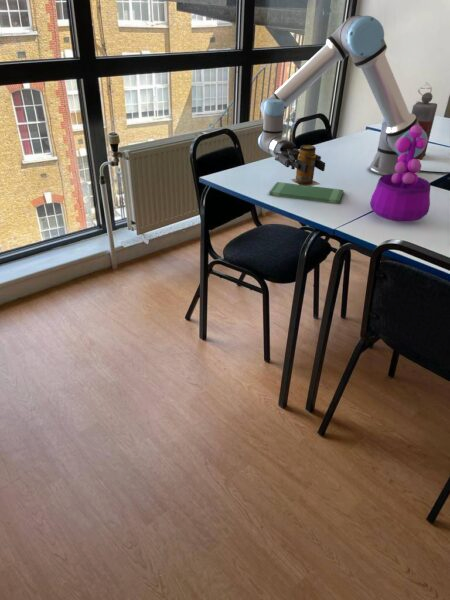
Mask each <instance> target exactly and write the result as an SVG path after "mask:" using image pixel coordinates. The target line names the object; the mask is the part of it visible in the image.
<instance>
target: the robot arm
mask: <svg viewBox="0 0 450 600" xmlns="http://www.w3.org/2000/svg"><path fill="white" fill-rule="evenodd" d="M325 41H326V42H325V44H324V45H323V46H322V47H321V48H320V49H319V50H318V51H317V52H316V53H315V54H314V55H312V56H311V58H309V60H307V61H306V62H305V63H304V64H303V65H302V66H301V67H299V69H298V70H297V71H296V72H294V74H293V75H291V76H290V78H288V79H287V80H286V81H285V82H284V83H283V84H282V85H281V86H280V87H279V88H278V89H277V90H275V92H274V93H272V94H271V95H270V96H269V97H267V98H265V99H263V100H262V101H261V103H260V108H259V109H260V114H261V116H262V118H263V127H262V128H263V130H262V132H261V133H260V135H259V136H258V139H257V140H258V141H257V143H258V146H259V148H260V149H261V150H262V151H263V152H264V153H267V154H269V155H271V156H272V157H274V161H276V162H279V163H280V164H282V165H283V166H284V167H286V168H291V170H297V169H299V170H300V171H302V172H304V173H307V167H308V165H307V164H305V163H303V162H302V161H300V160H298V155H299V153H300V152H299V151H300V149H298V148H297V146H296V144H295V143H294V142H292V141H291V140H289V139H287V138H284V137H283V131H284V118H285V112H286V109H287V108H288V107H289V106H290V105H291V104H293V103H294V102H295V101H296V100H297V99H298V98H299V97H300V96H301V95H302V94H304V93H305V92H306V91H307V90H308V89H309V88H310V87H311V86H312V85H313V84H314V83H316V82H317V81H318V80H319V79H320V78H321V77H322V76H323V75H325V73H327V72H328V71H329V70H330V69H331V68H332V67H333V66H334V65H335V64H337V62H341V61H344V60H345V59H346V58H348V56H350V58H351V60H352V62H353V64H354V66H355V68H359V69H361V70H362V73H363V75H364V77H365V79H366V81H367V83H368V87H369V88H370V90H371V93H372V95H373V97H374V99H375V102H376V103H377V106H378V108H379V110H380V113H381V115H382V117H383V120H382V123H381V129H380V135H379V140H378V145H377V150H376V153H375V155H374V157H373V158H372V160H371V163H370V165H369V171H370V172H371V173H373V174H375V175H378V176H384V175H388V174H396V173H397V172H396V171H395V166H396V164H397V163H398V157H399V155H400V154H402V153H401V152H399V151H398V150H397V149H396V142H397V140H398V139H399V138H402V137H408V138H410V140H411V143H412V141H413V138H412V137H411V136H410V134H409V130H410V129H411V128H412V127H413V126H414V125H419V123H418V121H417V118H416V116H415V115H414V114H411V113H412V112H411V113H410V111H409V109H408V107H407V104H406V101H405V99H404V97H403V94H402V91H401V89H400V88H399V84H398V83H397V80H396V78H395V75H394V73H393V70H392V68H391V66H390V63H389V60H388V58H387V57H386V52H387V49H388V45H387V43H386V41H385V30H384V26H383V25H382V23H381V22H380V20H378V19H377V18H375V17H374V16H372V15H360V14H359V15H353V16H350V17H349V18H347V19H346V20H344V21H343V22H342V24H340V25H339V27H337V29H336V30H334V32H333V33H331V34H330V36H329V37H328V38H327V39H326V40H325ZM419 126H420V125H419ZM422 131H423V133H422V135H421V136H420V137H421V138H425V139H426V141H428V138H427V134H426V132H425V131H424V130H422ZM420 137H418V138H420ZM418 138H416V140H417V139H418ZM428 142H429V141H428ZM426 145H427V144H426ZM427 146H428V145H427ZM425 147H426V146H425ZM425 147H424V148H423V149H417V148H416V146H415V154H414V157H416V156H418V155H419V154H421V153H422V152H423V150H424V149H425ZM404 153H407V154H408V151H407V152H404ZM315 156H316V159H315V169H318V170H319V171H321V172H325V169H326V162H324V161H323V160H322V156H321V155H319V154H316V153H315ZM417 173H427V174H439V175H440V174H441V175H448V174H449V175H450V171H434V170H423V169H420V171H418V172H417ZM401 174H403V173H401Z"/></svg>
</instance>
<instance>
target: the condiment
mask: <svg viewBox="0 0 450 600" xmlns="http://www.w3.org/2000/svg"><path fill="white" fill-rule="evenodd" d="M316 149H317V148H316V146H314V145H311V144H303V145H300V147H299V150H300V151H299V152H300V153H299V155H298V160H300V161H302V162H303V163H305V164H307V165H308V167H307V173H304V172H302V171H300V170H299V169H297V168H296V171H295V178H291V179H289V180H291V181H292V182H293V183H294V184H298V185H301V186H303V187H306V186H318V185H321V183H320V182H318V181H315V180H314V175H315V169H316V167H315V159H316V156H315V154H316Z"/></svg>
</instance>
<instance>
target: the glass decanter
mask: <svg viewBox="0 0 450 600" xmlns="http://www.w3.org/2000/svg"><path fill="white" fill-rule="evenodd" d="M422 95H423V96H422ZM422 95H421V99H422V100H421V101H418V102H417V103H416V102H415V103H416V104H415V103H414V104H413V105H412V108H411V114H414V115H415V116H416V118H417V121H418V123H419V125H420V126H421V127H422V129H423V130H424V131H425V132H426V134H427V138H428V141H427V145H426V147H425V149H424V150H423V152H422V153H421V154H419V155H418V156H416V157H414V159H417V160H419V161H422V160H423V159H424V157H425V156H426V154H427V149H428V145H429V141H430V136H431V132H432V129H433V124H434V122H435V121H434V120H435V117H436V112H437V109H438V103H436V102H431V101H433V98H434V96H433V93H432V92H431V93H430V91H427V92H425V93H423V94H422Z"/></svg>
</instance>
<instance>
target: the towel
mask: <svg viewBox="0 0 450 600" xmlns="http://www.w3.org/2000/svg"><path fill="white" fill-rule="evenodd" d="M343 195H344V189H340V188H333V187H332V188H331V187H323V186H316V185H314V186H306V187H303V186H301V185H299V184H298V183H289V182H280V181H277V182H276V183H275V184H274V186H273V187H272V188H271V190H270V191H269V196H276V197H284V198H293V199H299V200H300V199H301V200H307V201H308V200H309V201H315V202H322V203H323V202H324V203H332V204H338V205H339V204H340V203H341V200H342V197H343Z"/></svg>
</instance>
